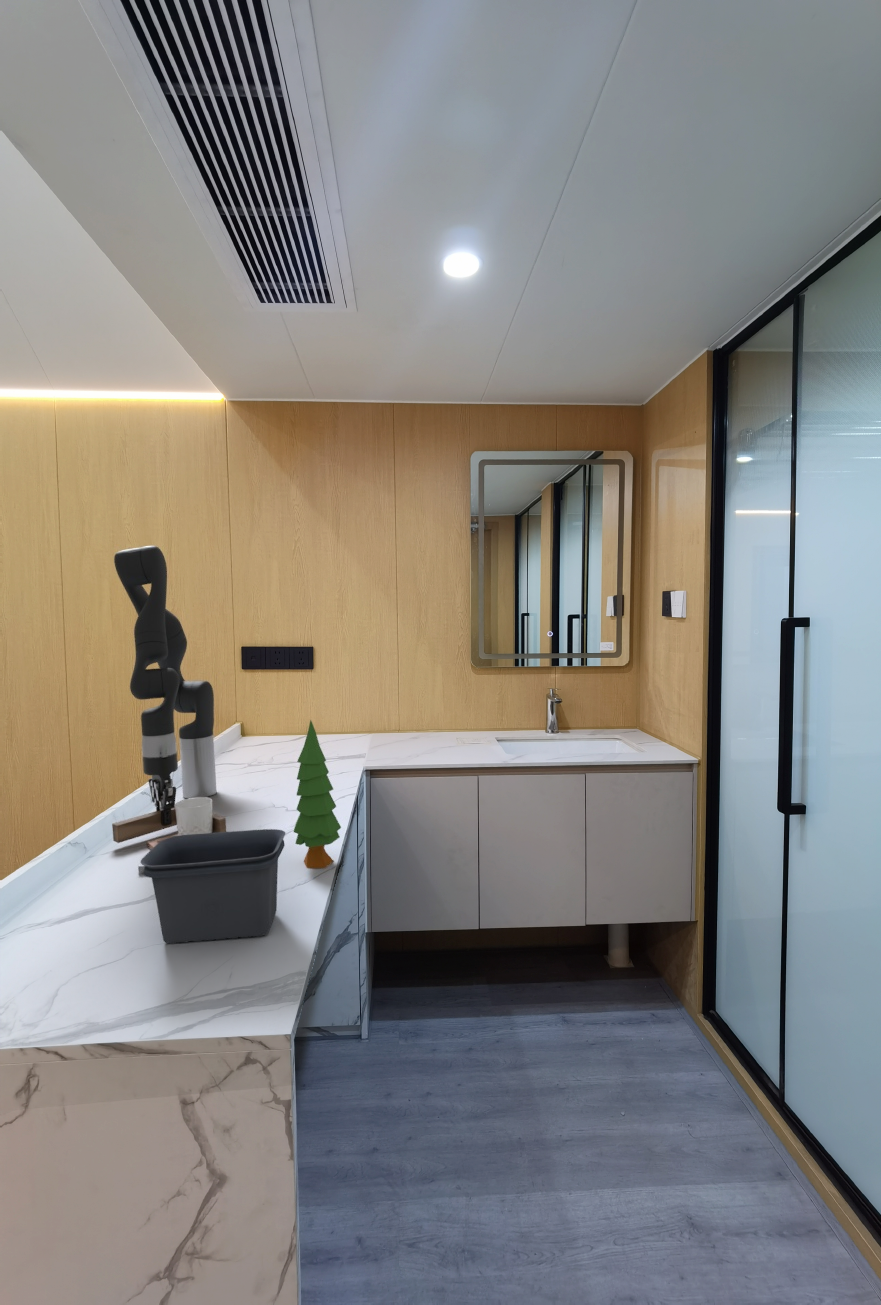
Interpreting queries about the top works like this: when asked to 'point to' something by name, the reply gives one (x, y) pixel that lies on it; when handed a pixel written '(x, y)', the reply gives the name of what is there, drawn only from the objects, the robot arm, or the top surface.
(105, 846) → the top surface
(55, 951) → the top surface
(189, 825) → the white cup
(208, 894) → the storage bin
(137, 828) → the wooden l-shaped bracket
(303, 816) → the decorative tree
